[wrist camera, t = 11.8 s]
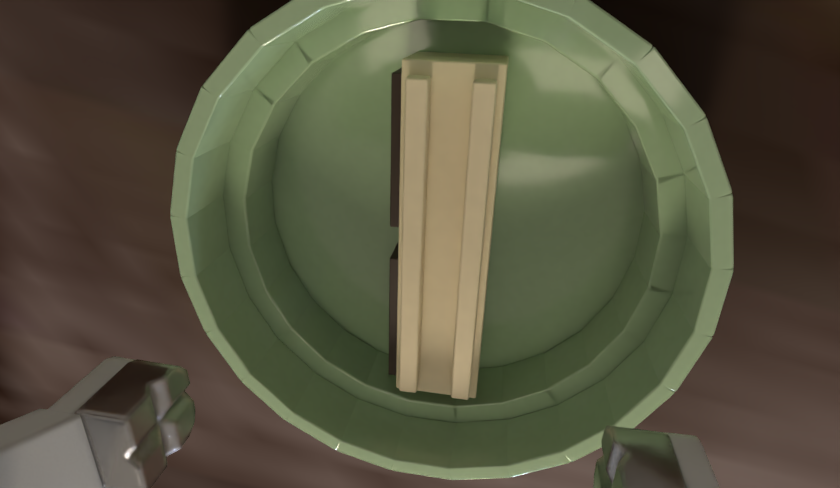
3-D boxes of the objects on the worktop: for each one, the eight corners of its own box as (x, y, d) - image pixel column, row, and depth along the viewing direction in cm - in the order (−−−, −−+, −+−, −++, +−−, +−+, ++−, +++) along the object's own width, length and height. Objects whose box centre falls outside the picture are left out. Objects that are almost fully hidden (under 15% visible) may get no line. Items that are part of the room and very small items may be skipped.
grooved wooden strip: (406, 50, 19) (385, 59, 16) (508, 55, 18) (507, 65, 15) (400, 346, 24) (383, 398, 21) (480, 356, 23) (474, 411, 20)
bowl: (225, -34, 19) (123, -47, 14) (735, -19, 17) (826, -30, 12) (266, 360, 26) (208, 442, 21) (630, 408, 24) (659, 513, 19)
